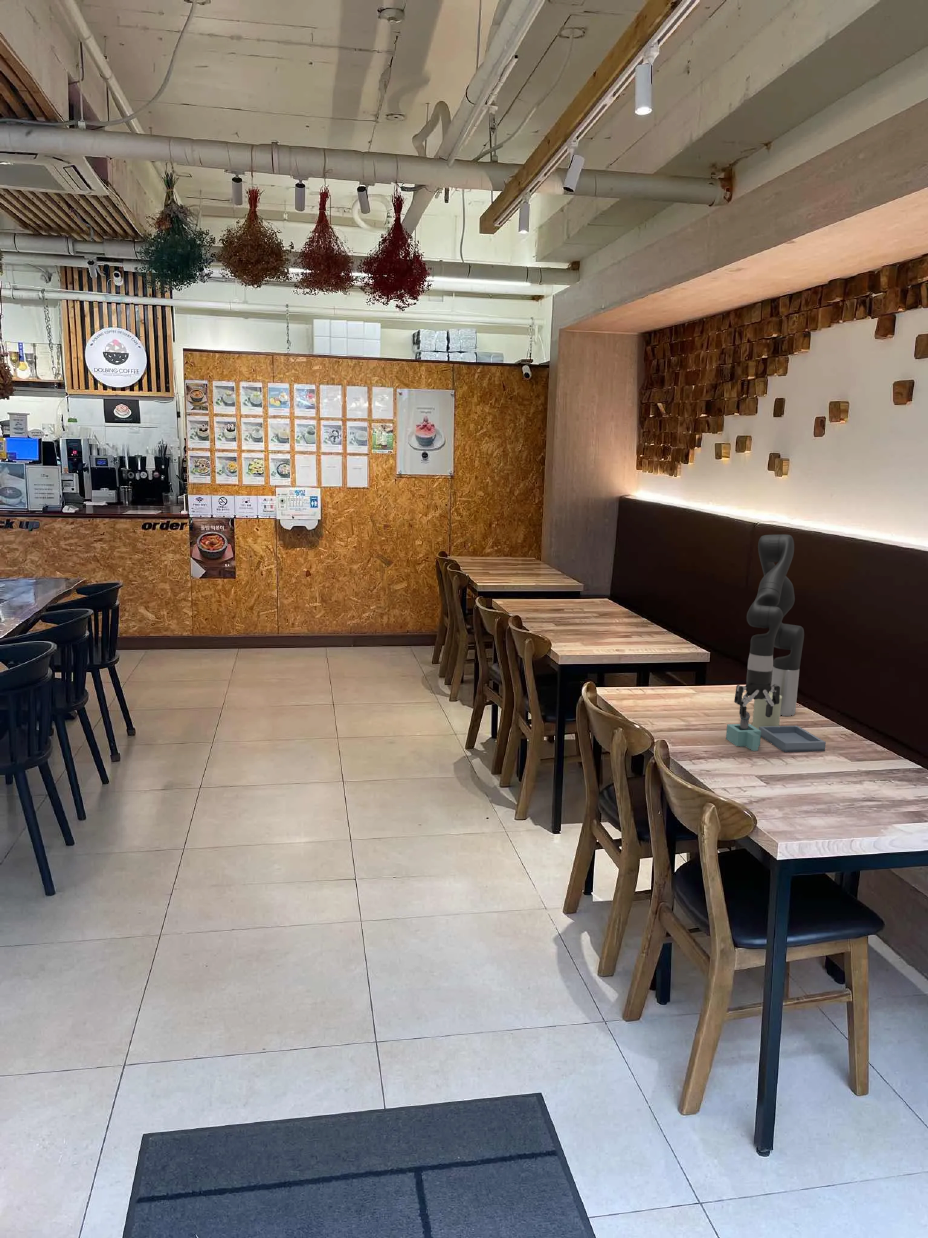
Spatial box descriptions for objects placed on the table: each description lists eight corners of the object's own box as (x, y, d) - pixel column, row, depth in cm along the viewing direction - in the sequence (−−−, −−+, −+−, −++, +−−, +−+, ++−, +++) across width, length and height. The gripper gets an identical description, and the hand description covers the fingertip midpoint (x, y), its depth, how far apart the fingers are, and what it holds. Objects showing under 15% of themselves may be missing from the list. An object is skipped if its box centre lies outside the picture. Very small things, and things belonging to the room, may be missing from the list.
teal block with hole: (725, 738, 292) (727, 724, 291) (748, 738, 293) (749, 723, 292) (743, 751, 279) (744, 736, 279) (766, 750, 281) (768, 735, 280)
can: (775, 723, 310) (778, 691, 307) (782, 732, 301) (785, 698, 298) (749, 722, 310) (751, 690, 308) (754, 730, 301) (757, 697, 299)
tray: (758, 735, 296) (758, 726, 296) (796, 734, 299) (797, 725, 298) (784, 752, 279) (785, 743, 279) (824, 751, 282) (825, 742, 281)
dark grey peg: (736, 740, 290) (738, 710, 288) (744, 740, 290) (747, 709, 288) (740, 744, 287) (743, 712, 285) (749, 743, 287) (752, 712, 285)
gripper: (774, 664, 281) (770, 713, 284) (733, 665, 279) (729, 714, 282) (786, 670, 274) (782, 720, 277) (744, 670, 272) (740, 720, 275)
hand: (755, 717), depth 279 cm, fingers open, 8 cm apart
